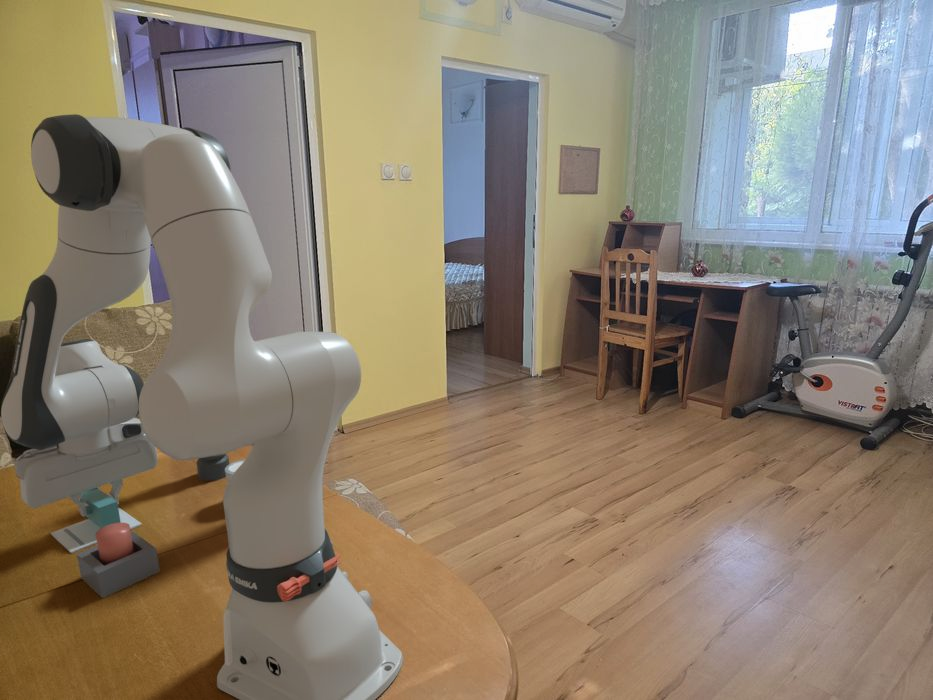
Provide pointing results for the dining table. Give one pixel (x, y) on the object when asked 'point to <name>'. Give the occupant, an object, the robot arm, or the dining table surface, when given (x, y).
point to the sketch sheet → (86, 532)
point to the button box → (118, 567)
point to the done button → (114, 542)
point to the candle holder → (212, 467)
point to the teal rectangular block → (101, 507)
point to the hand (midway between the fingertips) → (100, 509)
